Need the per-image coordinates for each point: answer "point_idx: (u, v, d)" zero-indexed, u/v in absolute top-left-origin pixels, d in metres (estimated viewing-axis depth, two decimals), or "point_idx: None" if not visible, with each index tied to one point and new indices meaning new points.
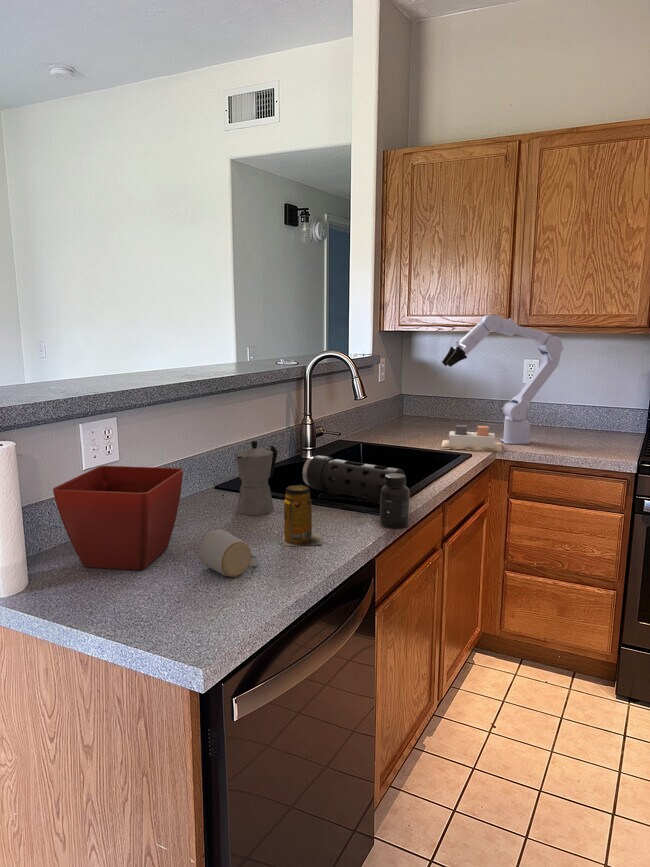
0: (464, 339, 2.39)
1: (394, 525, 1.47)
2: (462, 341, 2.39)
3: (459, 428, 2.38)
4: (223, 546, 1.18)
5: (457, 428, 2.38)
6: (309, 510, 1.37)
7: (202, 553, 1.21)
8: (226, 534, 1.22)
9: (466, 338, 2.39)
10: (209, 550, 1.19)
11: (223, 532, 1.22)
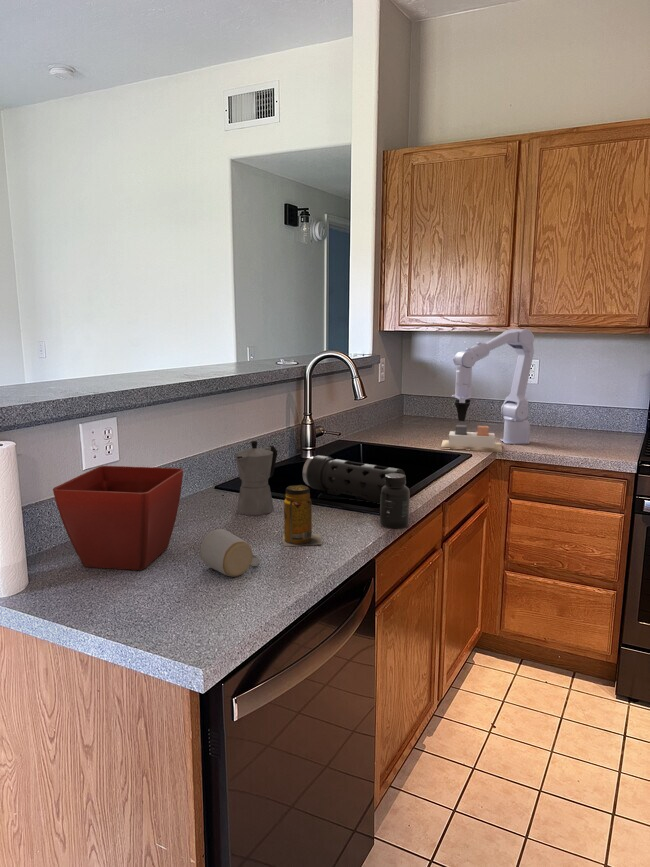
0: (456, 390, 2.36)
1: (394, 525, 1.47)
2: (456, 393, 2.36)
3: (459, 428, 2.38)
4: (224, 546, 1.18)
5: (457, 428, 2.38)
6: (309, 510, 1.37)
7: (204, 553, 1.21)
8: (227, 534, 1.22)
9: (457, 388, 2.35)
10: (210, 549, 1.20)
11: (224, 532, 1.23)
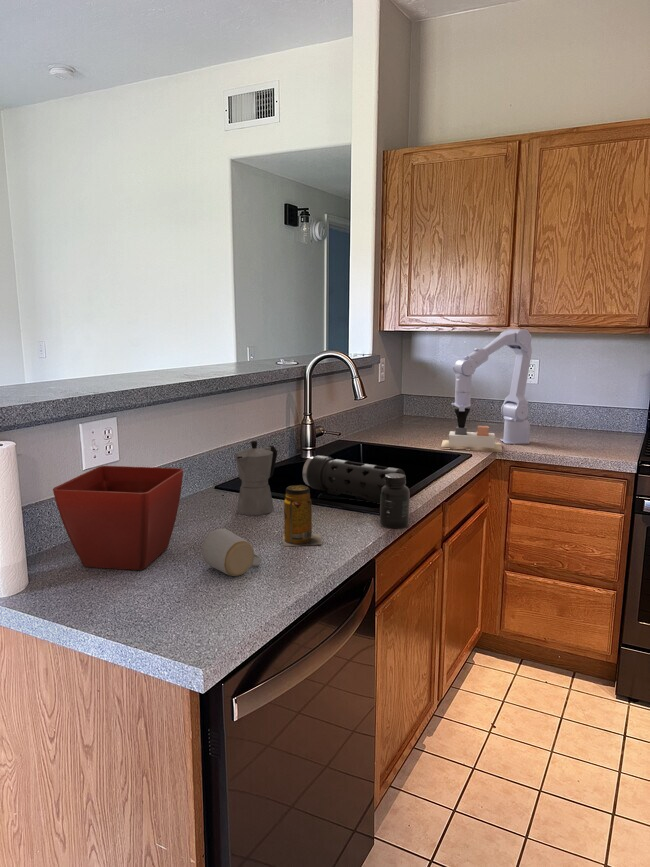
0: (456, 398, 2.36)
1: (394, 525, 1.47)
2: (456, 401, 2.36)
3: (459, 430, 2.38)
4: (226, 545, 1.18)
5: (457, 430, 2.38)
6: (309, 510, 1.37)
7: (205, 552, 1.21)
8: (229, 533, 1.22)
9: (456, 396, 2.36)
10: (212, 549, 1.20)
11: (226, 531, 1.23)
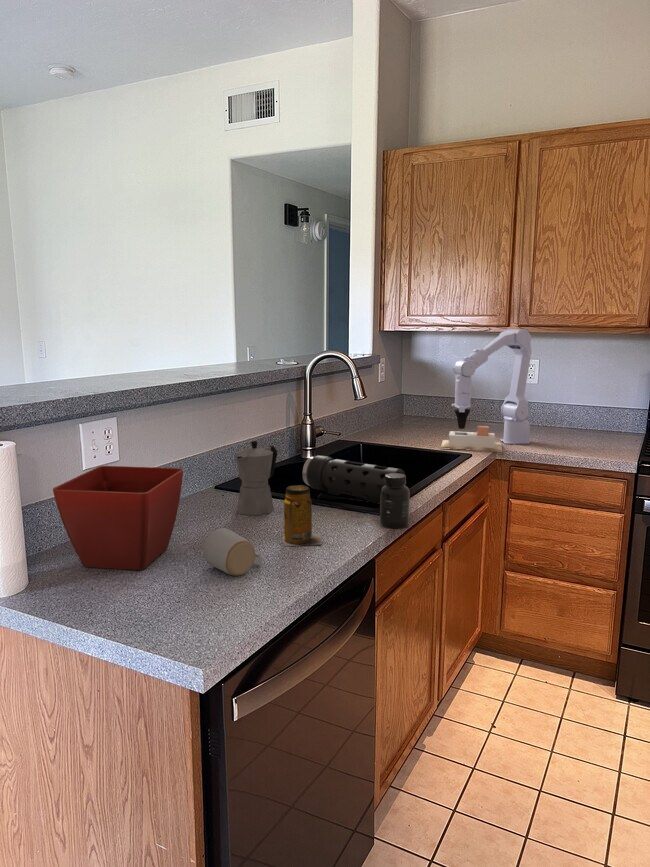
0: (456, 399, 2.36)
1: (394, 525, 1.47)
2: (456, 402, 2.37)
3: None
4: (227, 545, 1.18)
5: None
6: (309, 510, 1.37)
7: (207, 552, 1.21)
8: (230, 533, 1.22)
9: (456, 397, 2.36)
10: (213, 549, 1.20)
11: (227, 531, 1.23)
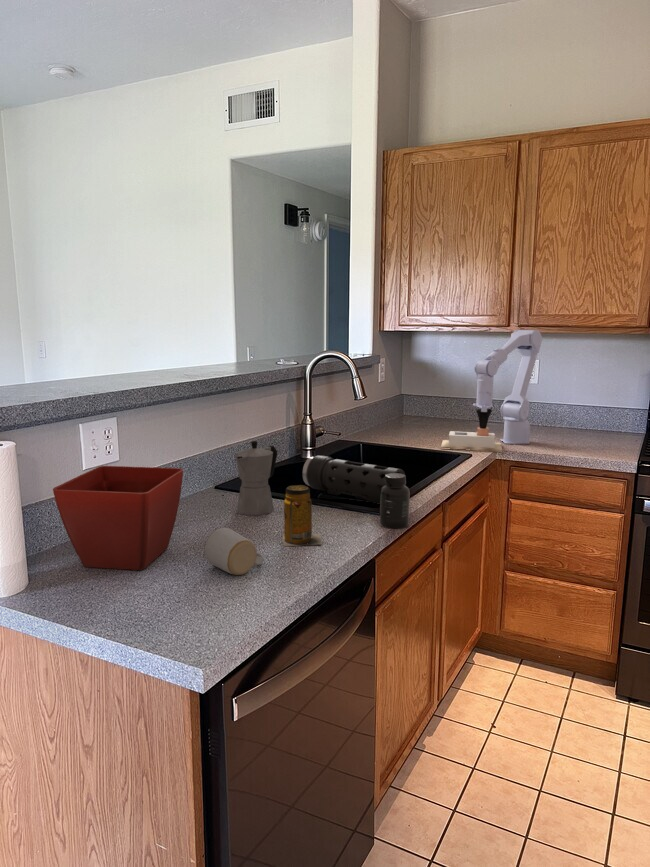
0: (478, 398, 2.34)
1: (394, 525, 1.47)
2: (478, 401, 2.35)
3: None
4: (229, 544, 1.19)
5: None
6: (309, 510, 1.37)
7: (208, 551, 1.22)
8: (232, 533, 1.22)
9: (478, 397, 2.34)
10: (215, 548, 1.20)
11: (229, 531, 1.23)
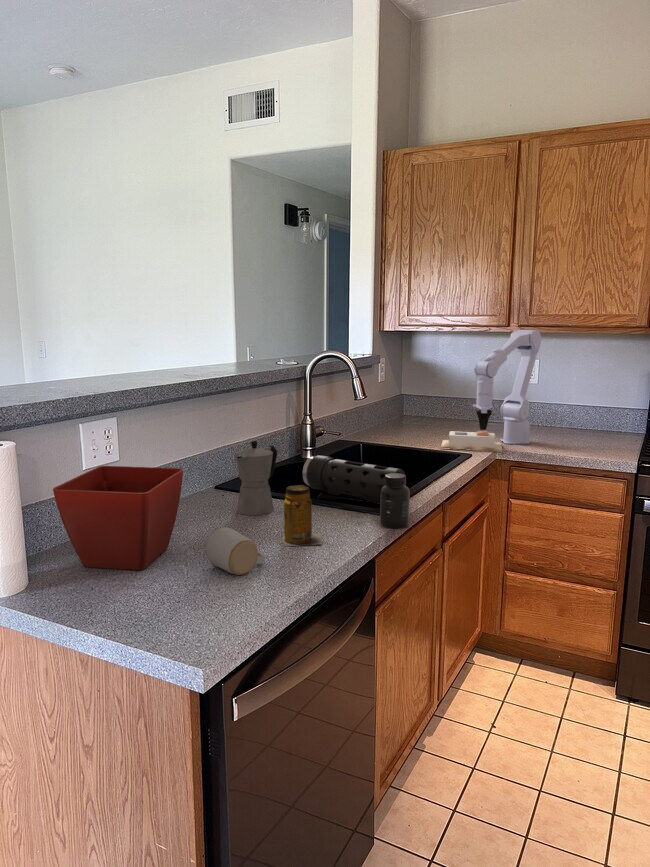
0: (478, 400, 2.35)
1: (394, 525, 1.47)
2: (478, 403, 2.35)
3: None
4: (230, 544, 1.19)
5: None
6: (309, 510, 1.37)
7: (209, 551, 1.22)
8: (233, 532, 1.23)
9: (478, 398, 2.34)
10: (216, 548, 1.20)
11: (230, 530, 1.23)
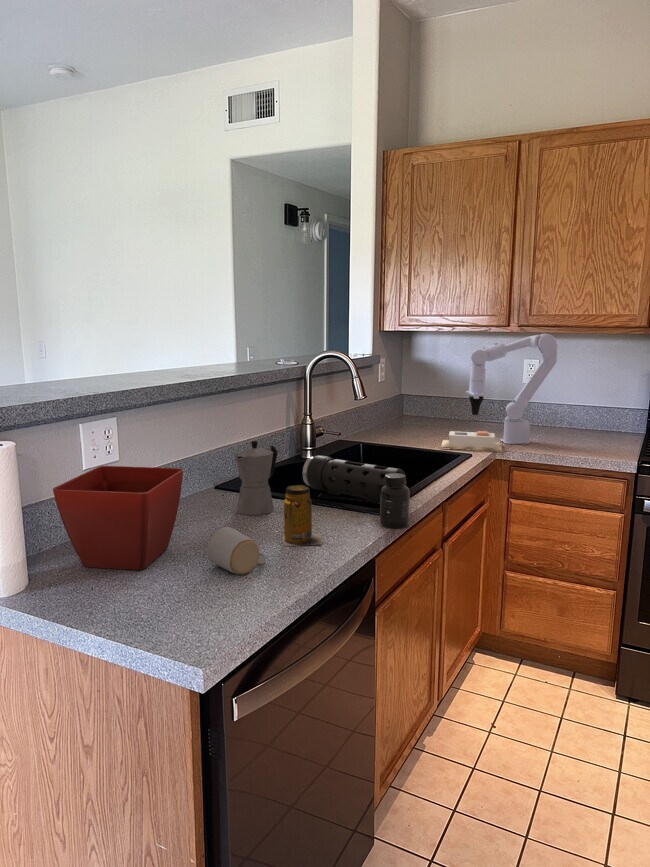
0: (470, 386, 2.48)
1: (394, 525, 1.47)
2: (470, 389, 2.48)
3: None
4: (231, 544, 1.19)
5: None
6: (309, 510, 1.37)
7: (211, 551, 1.22)
8: (234, 532, 1.23)
9: (471, 384, 2.47)
10: (217, 547, 1.21)
11: (231, 530, 1.24)
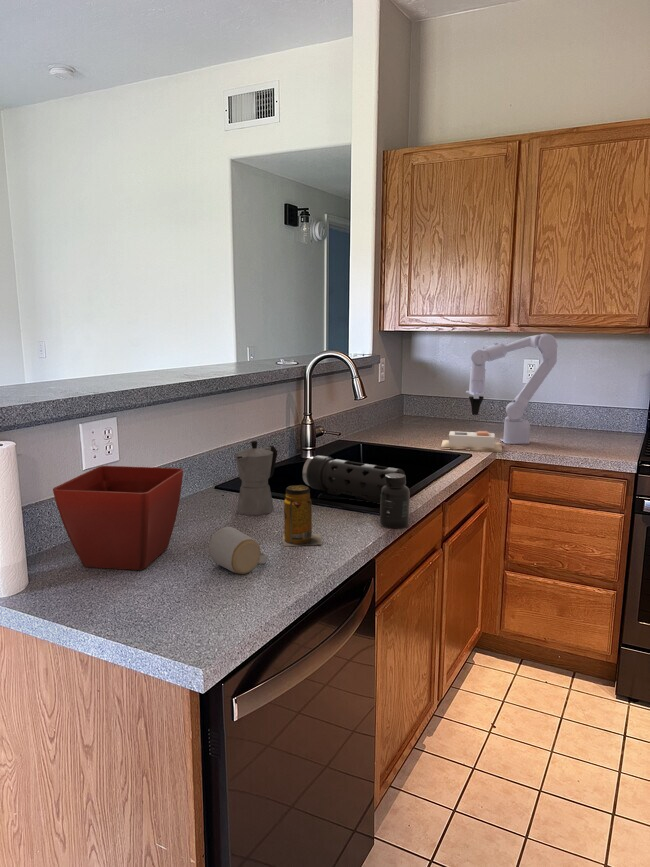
0: (470, 386, 2.48)
1: (394, 525, 1.47)
2: (470, 389, 2.48)
3: None
4: (233, 543, 1.19)
5: None
6: (309, 510, 1.37)
7: (212, 550, 1.22)
8: (236, 532, 1.23)
9: (471, 384, 2.47)
10: (219, 547, 1.21)
11: (232, 530, 1.24)
